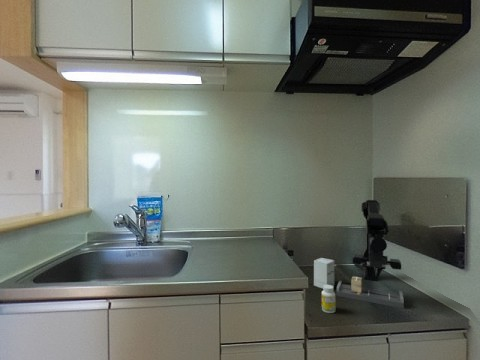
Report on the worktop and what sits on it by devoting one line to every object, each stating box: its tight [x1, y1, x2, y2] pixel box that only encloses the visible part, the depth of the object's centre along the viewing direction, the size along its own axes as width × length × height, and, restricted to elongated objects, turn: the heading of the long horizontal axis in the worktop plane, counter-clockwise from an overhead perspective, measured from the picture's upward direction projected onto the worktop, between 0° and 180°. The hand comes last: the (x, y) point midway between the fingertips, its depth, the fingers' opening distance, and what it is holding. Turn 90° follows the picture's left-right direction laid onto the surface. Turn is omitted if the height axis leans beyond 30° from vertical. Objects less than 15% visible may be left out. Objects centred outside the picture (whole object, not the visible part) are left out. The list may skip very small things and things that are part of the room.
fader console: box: [335, 280, 405, 309], centre depth 118 cm, size 10×26×4 cm, turn 62°
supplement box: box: [313, 257, 335, 289], centre depth 131 cm, size 7×7×13 cm
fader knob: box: [350, 276, 363, 293], centre depth 120 cm, size 5×4×5 cm
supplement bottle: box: [321, 285, 336, 314], centre depth 107 cm, size 5×5×10 cm
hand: (376, 281), depth 116 cm, fingers closed
